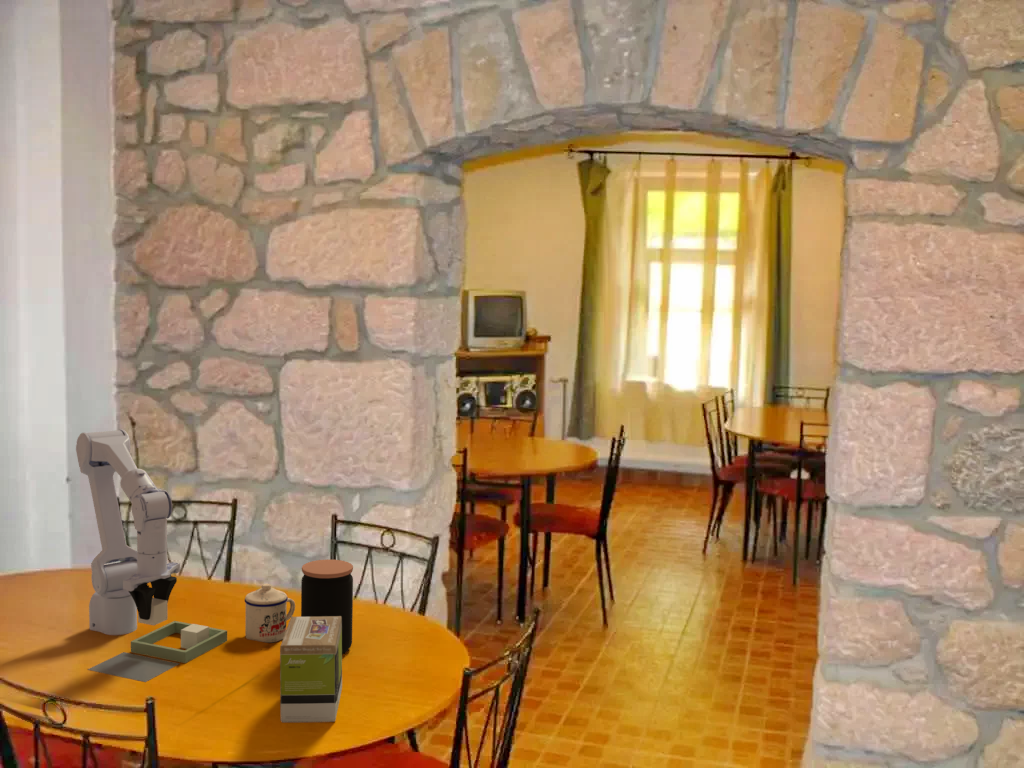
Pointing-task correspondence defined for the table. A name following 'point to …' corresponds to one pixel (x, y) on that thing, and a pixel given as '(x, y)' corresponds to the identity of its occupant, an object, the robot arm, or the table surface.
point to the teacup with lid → (267, 614)
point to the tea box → (311, 669)
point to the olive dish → (148, 648)
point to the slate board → (134, 666)
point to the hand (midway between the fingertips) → (152, 615)
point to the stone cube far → (193, 635)
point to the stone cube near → (156, 612)
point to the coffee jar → (329, 593)
